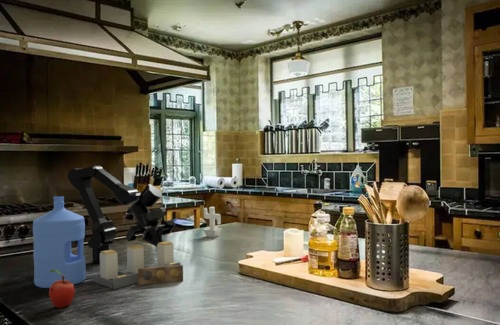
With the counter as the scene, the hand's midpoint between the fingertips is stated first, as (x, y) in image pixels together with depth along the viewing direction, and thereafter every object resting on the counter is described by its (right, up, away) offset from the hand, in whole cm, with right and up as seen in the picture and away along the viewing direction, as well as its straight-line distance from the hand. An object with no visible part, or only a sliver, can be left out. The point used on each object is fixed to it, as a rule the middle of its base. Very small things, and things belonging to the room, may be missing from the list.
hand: (161, 248), depth 152 cm
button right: (+2, -6, -2) cm, 7 cm away
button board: (-6, -8, -8) cm, 13 cm away
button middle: (-8, -7, -7) cm, 12 cm away
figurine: (+12, -7, +66) cm, 67 cm away
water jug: (-31, -9, -12) cm, 34 cm away
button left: (-14, -7, -14) cm, 21 cm away
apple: (-20, -9, -37) cm, 42 cm away
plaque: (+3, -8, -16) cm, 18 cm away
